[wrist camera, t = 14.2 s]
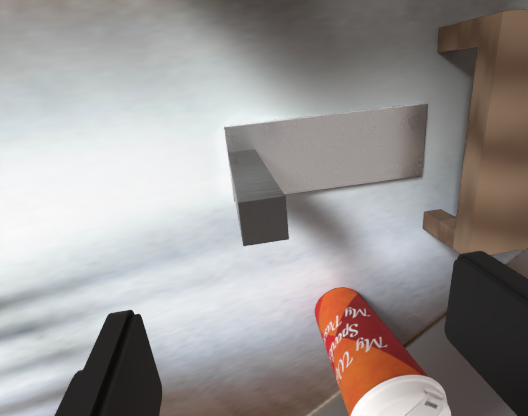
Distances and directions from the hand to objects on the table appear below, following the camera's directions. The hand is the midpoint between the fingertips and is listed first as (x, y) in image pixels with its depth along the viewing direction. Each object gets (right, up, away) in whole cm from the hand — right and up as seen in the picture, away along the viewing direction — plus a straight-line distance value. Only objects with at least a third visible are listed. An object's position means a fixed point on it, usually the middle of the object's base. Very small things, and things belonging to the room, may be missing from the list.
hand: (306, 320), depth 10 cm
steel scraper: (+5, +9, +23) cm, 25 cm away
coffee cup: (+8, -9, +30) cm, 32 cm away
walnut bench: (+22, +11, +24) cm, 34 cm away
